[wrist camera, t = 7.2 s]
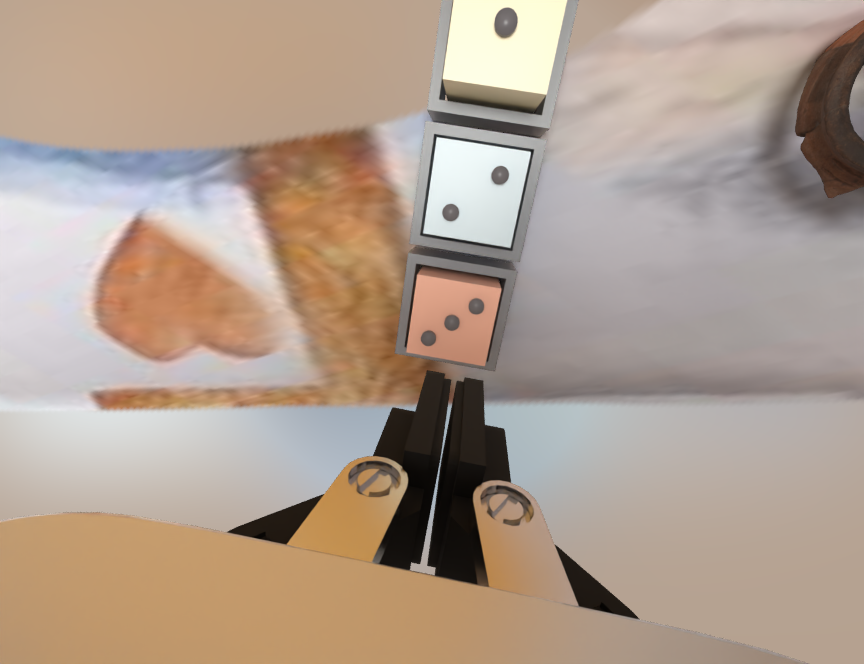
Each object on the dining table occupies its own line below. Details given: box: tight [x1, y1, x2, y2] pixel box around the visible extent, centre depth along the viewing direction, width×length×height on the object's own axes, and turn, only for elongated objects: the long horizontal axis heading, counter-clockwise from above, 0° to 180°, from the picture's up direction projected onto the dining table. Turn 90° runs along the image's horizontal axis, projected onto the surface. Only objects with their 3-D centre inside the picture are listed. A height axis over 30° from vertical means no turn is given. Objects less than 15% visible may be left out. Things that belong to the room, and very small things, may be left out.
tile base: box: [395, 247, 517, 371], centre depth 24 cm, size 6×6×3 cm
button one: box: [443, 0, 567, 114], centre depth 18 cm, size 4×4×4 cm
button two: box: [423, 137, 531, 248], centre depth 21 cm, size 4×4×4 cm
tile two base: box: [409, 121, 547, 262], centre depth 22 cm, size 6×6×3 cm
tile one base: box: [427, 0, 579, 137], centre depth 20 cm, size 6×6×3 cm
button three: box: [406, 265, 501, 366], centre depth 23 cm, size 4×4×4 cm
